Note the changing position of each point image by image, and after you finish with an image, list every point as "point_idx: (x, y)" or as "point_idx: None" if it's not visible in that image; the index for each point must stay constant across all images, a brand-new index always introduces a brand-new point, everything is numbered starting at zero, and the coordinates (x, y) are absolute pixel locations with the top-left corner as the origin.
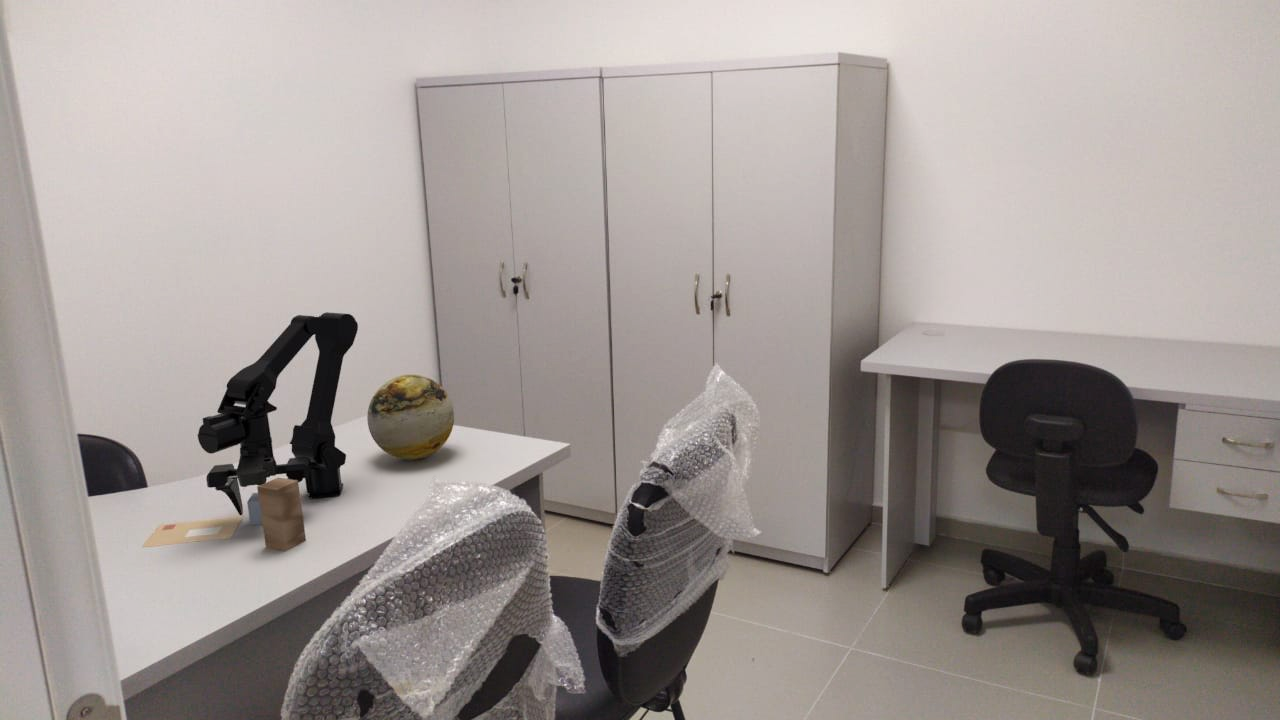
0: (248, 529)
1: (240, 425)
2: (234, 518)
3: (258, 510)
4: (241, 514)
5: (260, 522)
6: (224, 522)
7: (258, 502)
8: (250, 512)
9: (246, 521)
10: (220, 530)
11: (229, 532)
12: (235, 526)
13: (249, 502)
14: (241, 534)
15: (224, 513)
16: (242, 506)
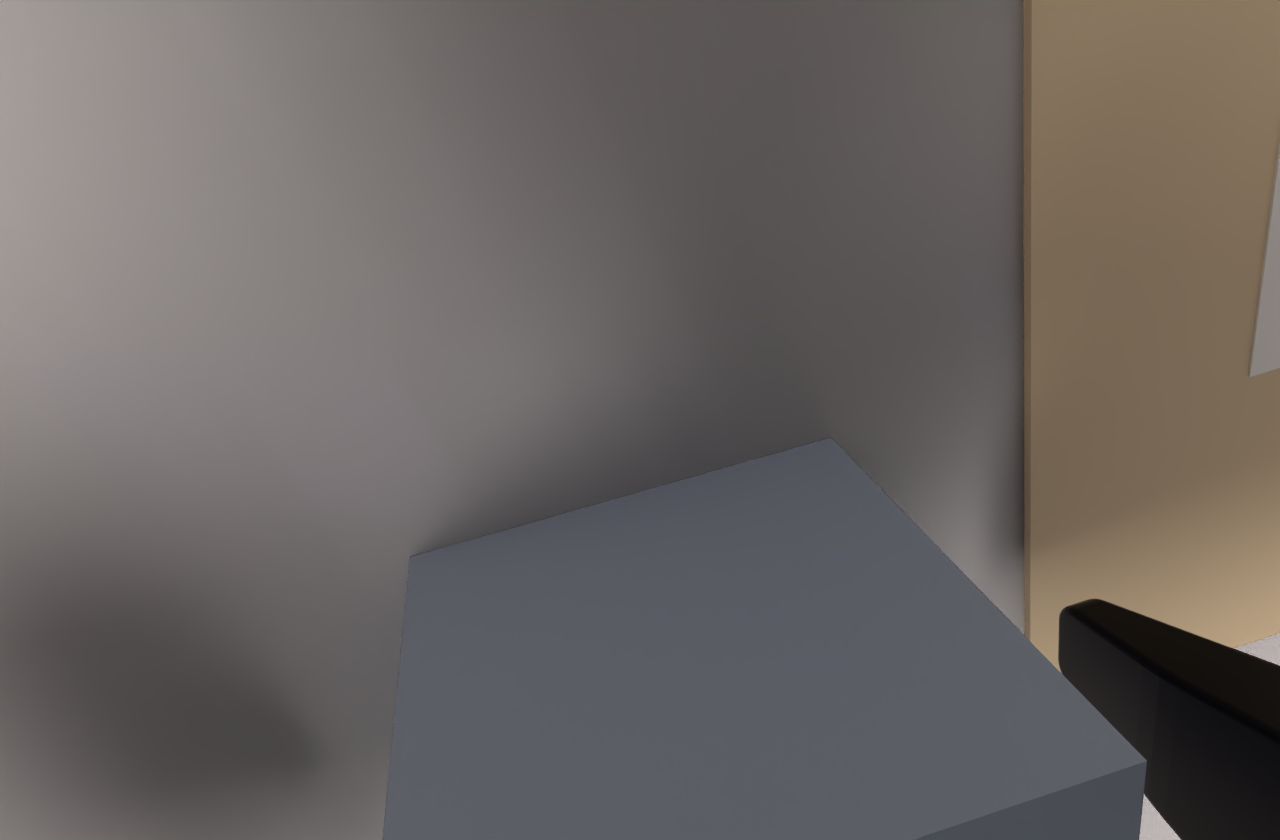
0: (810, 273)
1: None
2: None
3: (765, 643)
4: (1075, 608)
5: (683, 496)
6: (1232, 510)
7: (823, 822)
8: (923, 574)
9: None
10: (1256, 219)
11: (1104, 122)
12: (1057, 378)
13: (1077, 767)
14: (865, 30)
15: None
16: None
